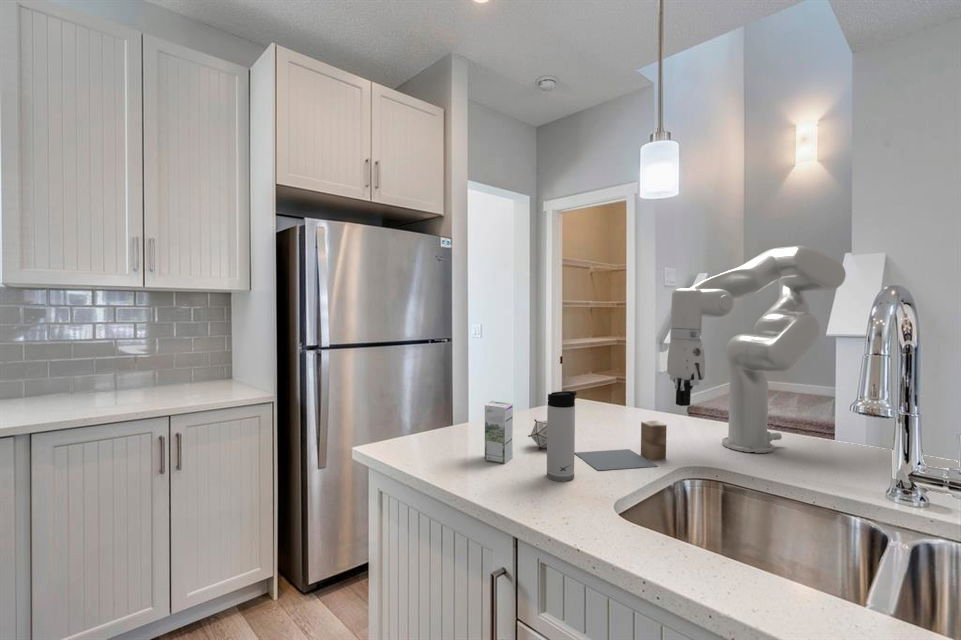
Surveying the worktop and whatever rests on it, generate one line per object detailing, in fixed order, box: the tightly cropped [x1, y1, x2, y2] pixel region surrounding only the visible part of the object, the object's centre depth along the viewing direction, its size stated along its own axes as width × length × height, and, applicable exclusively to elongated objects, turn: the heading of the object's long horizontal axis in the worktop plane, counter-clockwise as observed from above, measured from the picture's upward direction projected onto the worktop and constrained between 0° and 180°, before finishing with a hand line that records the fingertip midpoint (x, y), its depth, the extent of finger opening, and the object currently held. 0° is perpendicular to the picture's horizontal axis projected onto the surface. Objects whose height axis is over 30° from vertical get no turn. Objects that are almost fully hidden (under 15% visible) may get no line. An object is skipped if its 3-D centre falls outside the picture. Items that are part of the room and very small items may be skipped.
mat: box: [574, 448, 659, 472], centre depth 125 cm, size 16×14×1 cm
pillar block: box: [640, 420, 667, 462], centre depth 127 cm, size 4×4×9 cm
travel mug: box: [546, 390, 578, 482], centre depth 112 cm, size 6×7×20 cm
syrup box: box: [484, 400, 514, 464], centre depth 125 cm, size 6×6×14 cm
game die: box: [527, 418, 547, 451], centre depth 135 cm, size 9×8×10 cm
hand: (682, 405), depth 129 cm, fingers closed
